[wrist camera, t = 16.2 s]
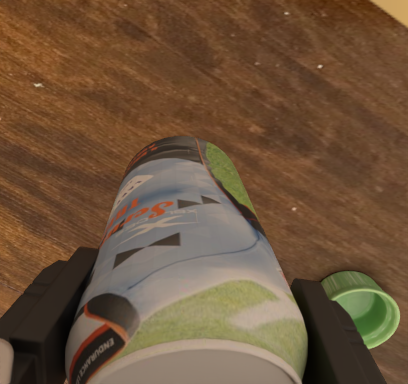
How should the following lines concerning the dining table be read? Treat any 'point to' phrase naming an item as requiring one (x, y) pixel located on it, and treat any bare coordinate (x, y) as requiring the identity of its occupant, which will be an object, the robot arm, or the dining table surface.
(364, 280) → the ramekin
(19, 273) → the dining table surface
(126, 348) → the beverage can
